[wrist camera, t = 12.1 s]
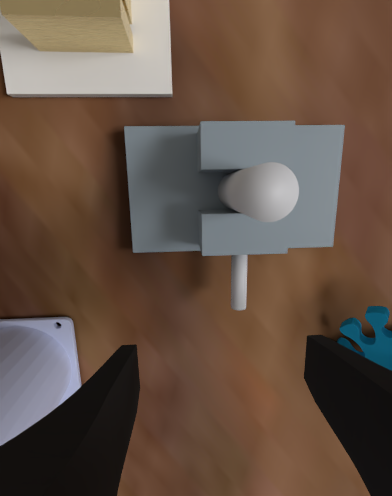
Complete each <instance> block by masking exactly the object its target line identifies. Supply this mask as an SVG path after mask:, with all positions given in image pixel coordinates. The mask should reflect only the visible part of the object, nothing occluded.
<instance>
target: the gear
mask: <svg viewBox="0 0 392 496" xmlns="http://www.w3.org/2000/svg"><path fill="white" fill-rule="evenodd" d="M365 318H366V320H367V321H368V322H369V323H370V324H371V325H372V327H373V329H374V331H375V335H376V337H375V338H369V337H366V336H364V335H363V334H362V332H361V323H360V322H359V320H357V319H356V318H349V319H347V320H345V321H344V322H342V324H341V326H340V331H341V333H342V334H344V335H345V336H347V337H349V338H351V339H352V340H354V341H355V342H356V343H357V344H358V345H359V346H360V347H361V349H362V350H363V352H359V351H357V350H355V349H354V348H353V346H352V345H351V343H350V342H349V341H348V340H347V339H345V338H341V337H340V338H339V339H338V340H337V343H339V344H341V345H343V346H345V347H347V348H348V349H350V350H352V351H354V352H356V353H358V354H360V355H362V356H363V357H365V358H367V359H369V360H371V361H373V362H375V363H377V364H379V365H381V366H383V367H385V368H387V369H389V370H391V371H392V331H390V330H387V329H386V328H385V327H384V325H386V323H387V322H388V318H389V310H388V309H387V307H382V306H369V307H368V309H367V311H366V314H365Z"/></svg>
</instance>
